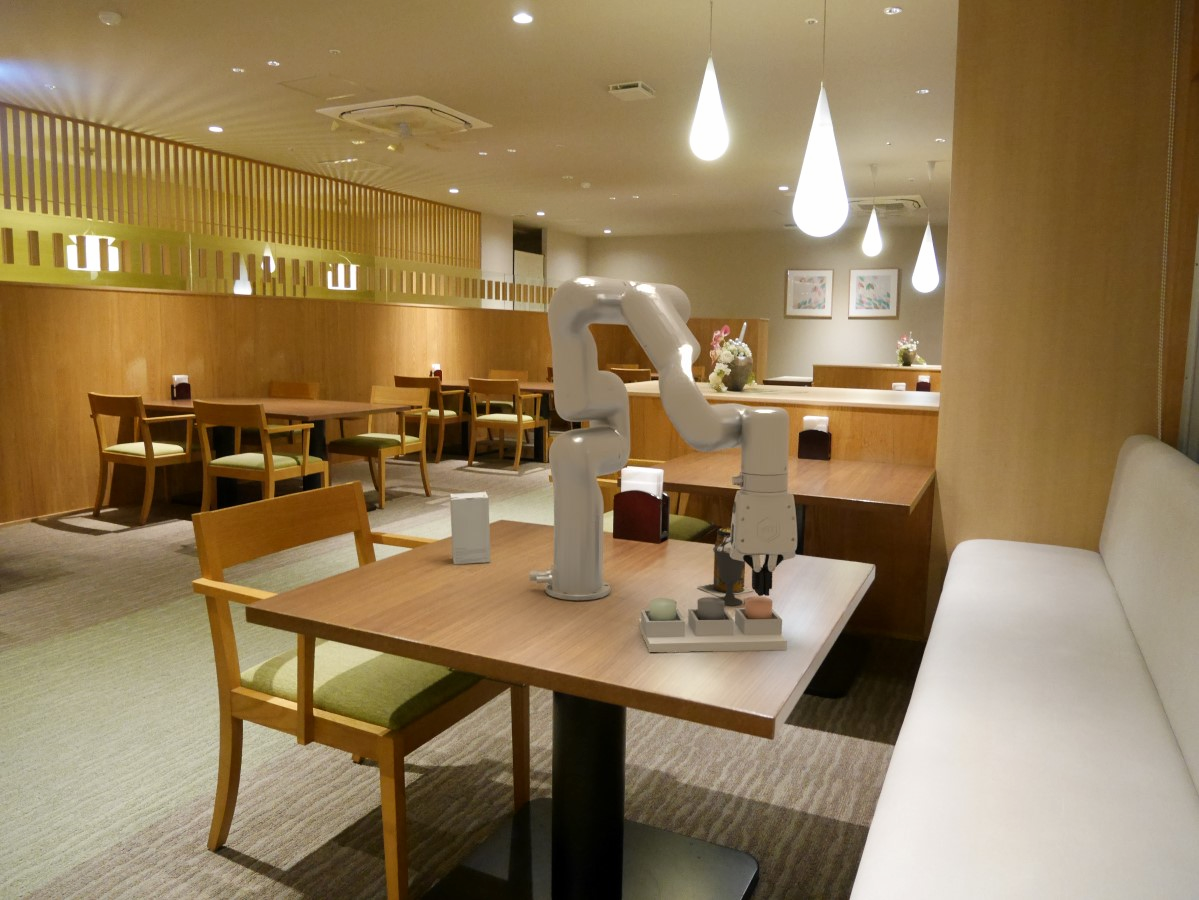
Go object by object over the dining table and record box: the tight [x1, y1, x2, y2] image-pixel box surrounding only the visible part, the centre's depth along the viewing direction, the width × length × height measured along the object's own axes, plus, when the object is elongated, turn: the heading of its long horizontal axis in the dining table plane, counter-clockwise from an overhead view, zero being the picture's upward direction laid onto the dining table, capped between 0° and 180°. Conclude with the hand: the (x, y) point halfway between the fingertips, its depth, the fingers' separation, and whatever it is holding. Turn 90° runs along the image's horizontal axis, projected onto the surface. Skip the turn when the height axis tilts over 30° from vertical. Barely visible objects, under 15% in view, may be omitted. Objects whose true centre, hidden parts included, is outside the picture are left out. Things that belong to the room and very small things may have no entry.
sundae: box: [712, 535, 744, 607], centre depth 160 cm, size 7×7×15 cm
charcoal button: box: [696, 596, 726, 620], centre depth 141 cm, size 4×4×3 cm
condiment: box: [697, 527, 754, 598], centre depth 169 cm, size 7×8×12 cm
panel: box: [638, 607, 788, 653], centre depth 142 cm, size 22×12×4 cm, turn 95°
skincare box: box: [449, 491, 492, 566], centre depth 187 cm, size 8×6×15 cm
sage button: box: [648, 597, 677, 621], centre depth 140 cm, size 4×4×3 cm
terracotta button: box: [744, 595, 773, 619], centre depth 142 cm, size 4×4×3 cm
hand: (761, 593), depth 141 cm, fingers closed
